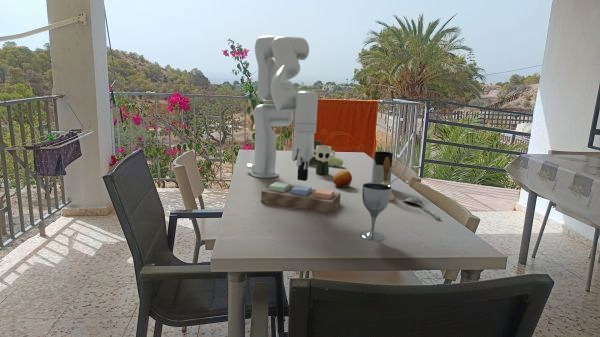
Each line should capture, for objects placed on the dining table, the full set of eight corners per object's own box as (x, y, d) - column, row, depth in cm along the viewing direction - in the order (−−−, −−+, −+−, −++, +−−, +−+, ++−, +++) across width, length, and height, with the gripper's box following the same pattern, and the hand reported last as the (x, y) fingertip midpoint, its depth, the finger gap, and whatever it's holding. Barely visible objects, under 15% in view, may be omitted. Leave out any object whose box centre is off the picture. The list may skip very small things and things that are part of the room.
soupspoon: (416, 203, 154) (400, 203, 153) (416, 194, 153) (400, 195, 152) (447, 221, 133) (429, 222, 132) (447, 211, 132) (429, 212, 131)
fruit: (355, 186, 163) (346, 169, 163) (338, 194, 165) (329, 177, 165) (356, 181, 171) (348, 165, 170) (340, 189, 173) (331, 173, 172)
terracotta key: (313, 200, 137) (314, 192, 137) (318, 196, 143) (319, 188, 142) (329, 203, 136) (329, 194, 135) (333, 198, 141) (334, 190, 140)
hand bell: (382, 201, 150) (386, 160, 146) (368, 195, 157) (372, 155, 153) (399, 199, 153) (403, 159, 150) (385, 193, 160) (389, 154, 157)
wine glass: (355, 230, 119) (359, 182, 116) (381, 231, 120) (386, 182, 116) (361, 241, 111) (366, 189, 108) (389, 241, 112) (395, 190, 109)
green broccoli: (346, 165, 210) (348, 144, 207) (336, 169, 200) (338, 147, 197) (305, 159, 222) (306, 138, 220) (294, 162, 212) (295, 141, 210)
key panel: (261, 202, 141) (261, 191, 140) (274, 193, 152) (275, 183, 151) (330, 213, 133) (331, 202, 132) (339, 204, 144) (340, 193, 143)
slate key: (291, 196, 140) (291, 188, 140) (296, 193, 145) (297, 185, 145) (306, 199, 138) (306, 191, 138) (311, 195, 143) (311, 187, 143)
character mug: (311, 175, 185) (312, 147, 182) (309, 171, 192) (311, 144, 189) (334, 175, 186) (336, 148, 183) (332, 172, 193) (334, 145, 190)
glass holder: (371, 184, 174) (374, 150, 171) (404, 188, 170) (408, 154, 167) (368, 188, 166) (371, 153, 163) (402, 193, 162) (407, 157, 159)
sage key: (269, 193, 143) (269, 185, 142) (275, 189, 148) (275, 181, 147) (283, 195, 141) (284, 187, 140) (289, 191, 146) (289, 184, 146)
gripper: (302, 125, 145) (299, 174, 148) (286, 129, 131) (284, 183, 135) (322, 127, 142) (319, 177, 146) (308, 131, 128) (305, 186, 132)
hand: (302, 179), depth 140 cm, fingers closed
